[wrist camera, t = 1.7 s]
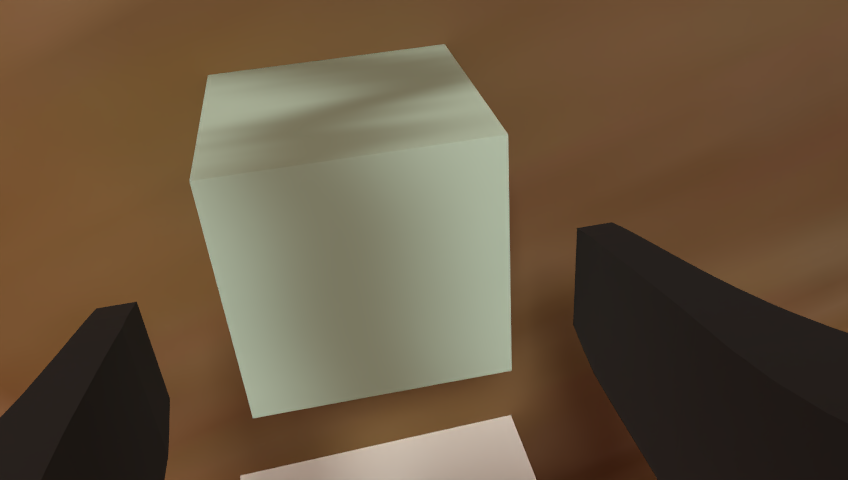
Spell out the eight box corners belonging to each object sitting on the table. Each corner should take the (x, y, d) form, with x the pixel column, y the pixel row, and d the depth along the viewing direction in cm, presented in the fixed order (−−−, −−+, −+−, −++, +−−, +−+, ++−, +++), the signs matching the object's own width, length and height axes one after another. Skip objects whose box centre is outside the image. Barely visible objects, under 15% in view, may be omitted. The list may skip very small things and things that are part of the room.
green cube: (443, 43, 16) (507, 134, 12) (455, 239, 19) (511, 370, 15) (208, 74, 16) (189, 180, 11) (254, 272, 18) (253, 418, 14)
